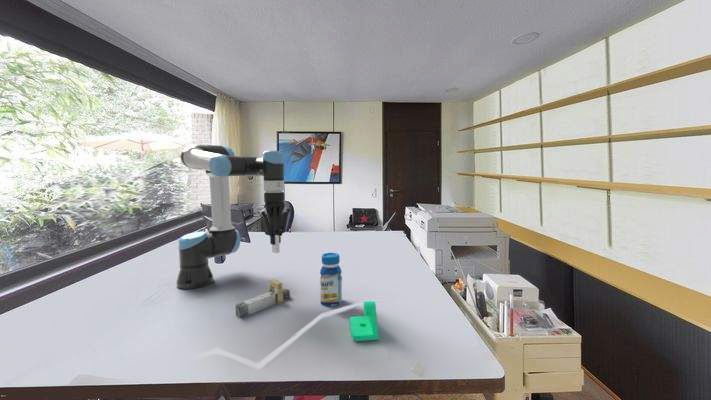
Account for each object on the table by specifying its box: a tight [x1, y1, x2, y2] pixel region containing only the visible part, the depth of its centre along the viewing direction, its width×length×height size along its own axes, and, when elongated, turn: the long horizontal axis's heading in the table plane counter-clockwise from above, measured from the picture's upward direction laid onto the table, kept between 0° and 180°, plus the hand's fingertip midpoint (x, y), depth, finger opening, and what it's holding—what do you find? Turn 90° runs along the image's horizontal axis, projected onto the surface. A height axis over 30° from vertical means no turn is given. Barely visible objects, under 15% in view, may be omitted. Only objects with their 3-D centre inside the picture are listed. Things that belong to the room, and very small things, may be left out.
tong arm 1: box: [235, 288, 277, 317], centre depth 110 cm, size 18×2×4 cm, turn 140°
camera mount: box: [349, 300, 379, 342], centre depth 94 cm, size 12×8×10 cm, turn 6°
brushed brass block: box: [268, 279, 284, 305], centre depth 114 cm, size 6×2×8 cm, turn 50°
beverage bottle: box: [319, 252, 343, 310], centre depth 113 cm, size 8×8×20 cm
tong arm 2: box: [237, 291, 283, 319], centre depth 109 cm, size 18×2×4 cm, turn 140°
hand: (275, 252), depth 114 cm, fingers closed
